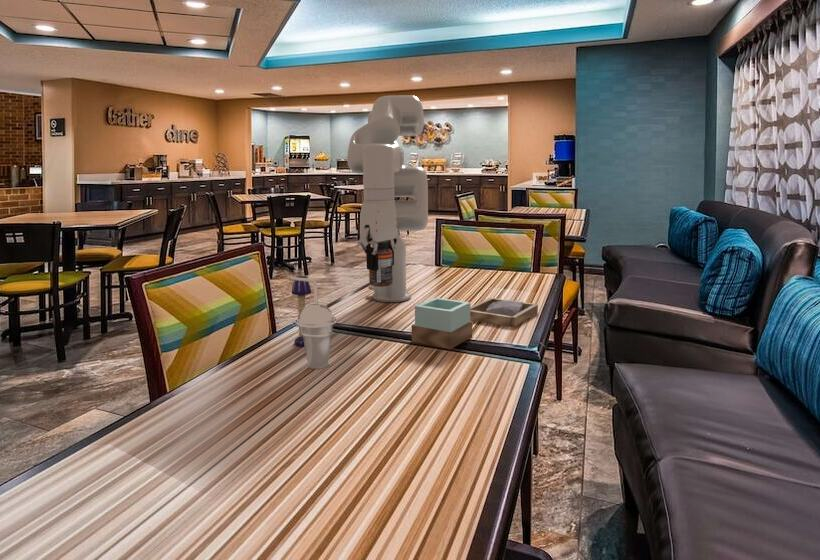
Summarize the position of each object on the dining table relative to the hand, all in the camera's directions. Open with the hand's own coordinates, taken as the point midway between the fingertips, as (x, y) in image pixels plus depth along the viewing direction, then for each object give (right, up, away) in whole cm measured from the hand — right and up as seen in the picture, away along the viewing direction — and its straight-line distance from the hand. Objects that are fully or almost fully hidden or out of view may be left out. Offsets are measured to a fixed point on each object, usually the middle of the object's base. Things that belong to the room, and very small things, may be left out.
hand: (380, 266), depth 138 cm
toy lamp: (-19, -19, -5) cm, 27 cm away
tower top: (+16, -14, -3) cm, 21 cm away
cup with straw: (-13, -22, -19) cm, 32 cm away
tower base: (+15, -18, -2) cm, 24 cm away
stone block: (+34, -14, +19) cm, 42 cm away
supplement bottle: (0, -5, +1) cm, 5 cm away
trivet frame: (+34, -14, +19) cm, 41 cm away
